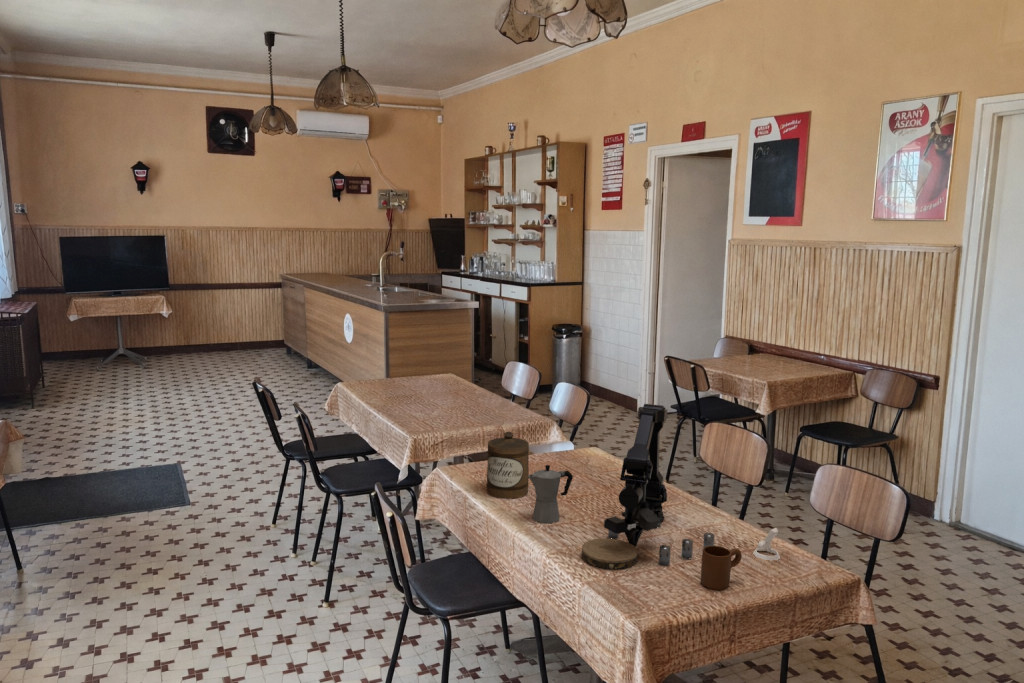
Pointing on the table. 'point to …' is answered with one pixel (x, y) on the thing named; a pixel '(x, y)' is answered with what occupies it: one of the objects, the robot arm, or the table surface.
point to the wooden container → (508, 467)
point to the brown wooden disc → (609, 554)
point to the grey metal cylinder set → (665, 550)
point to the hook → (767, 546)
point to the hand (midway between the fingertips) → (632, 548)
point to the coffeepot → (548, 493)
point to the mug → (718, 566)
